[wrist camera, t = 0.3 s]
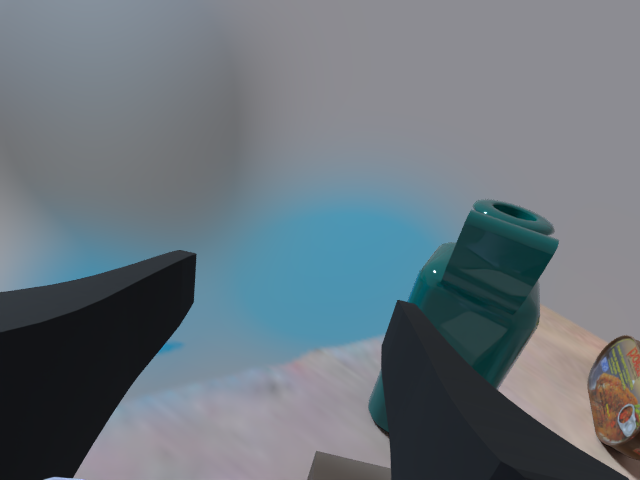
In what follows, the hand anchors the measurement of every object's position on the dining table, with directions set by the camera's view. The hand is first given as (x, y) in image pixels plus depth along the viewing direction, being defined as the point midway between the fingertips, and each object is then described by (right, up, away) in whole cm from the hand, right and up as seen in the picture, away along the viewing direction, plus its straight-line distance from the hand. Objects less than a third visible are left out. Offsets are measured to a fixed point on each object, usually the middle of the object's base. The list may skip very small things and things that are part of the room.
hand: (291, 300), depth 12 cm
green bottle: (+10, -15, +21) cm, 28 cm away
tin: (+33, -18, +26) cm, 46 cm away
